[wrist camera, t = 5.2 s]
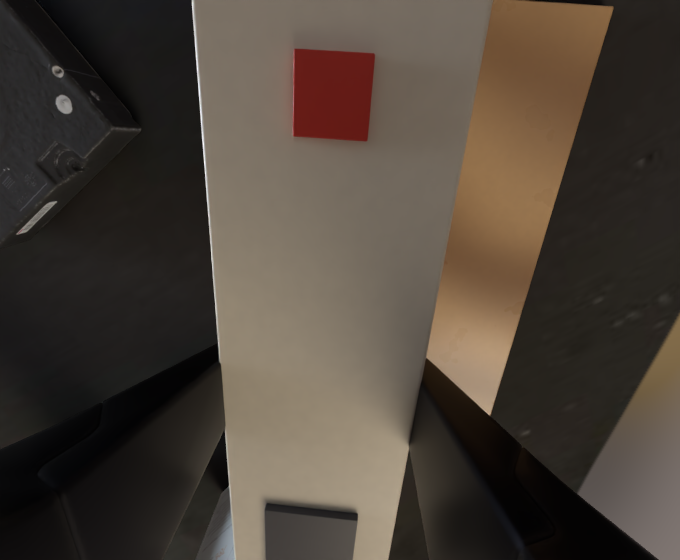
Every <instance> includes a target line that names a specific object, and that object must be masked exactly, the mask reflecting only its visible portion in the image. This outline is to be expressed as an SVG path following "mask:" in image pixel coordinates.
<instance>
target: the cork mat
mask: <svg viewBox="0 0 680 560" xmlns="http://www.w3.org/2000/svg"><path fill="white" fill-rule="evenodd" d="M612 11H613V6H601V5H586V4H572V3H557V2H543V1H529V0H493V3H492V9H491V14H490V19H489V25H488V30H487V35H486V40H485V46H484V51H483V56H482V62H481V67H480V72H479V78H478V83H477V88H476V94H475V99H474V104H473V110H472V115H471V120H470V126H469V131H468V136H467V142H466V147H465V152H464V158H463V163H462V168H461V174H460V179H459V184H458V190H457V195H456V200H455V206H454V211H453V216H452V222H451V227H450V232H449V238H448V243H447V248H446V254H445V259H444V264H443V270H442V275H441V280H440V286H439V291H438V296H437V302H436V307H435V312H434V318H433V323H432V328H431V334H430V339H429V344H428V350H427V355H426V358H427V359H429V360H430V361H431V362H432V363H433V364H434V365H435V366H436V367H437V368H439V369H440V370H441V371H442V372H443V373H444V374H445V375H446V376H447V377H448V378H449V379H450V380H452V381H453V382H454V383H455V384H456V385H457V386H458V387H459V388H460V389H461V390H462V391H463V392H465V393H466V394H467V395H468V396H469V397H470V398H471V399H472V400H473V401H474V402H475V403H476V404H478V405H479V406H480V407H481V408H482V409H483V410H484V411H485V412H486V413H487V414H488V415H489V416H490V415H491V412H492V408H493V405H494V402H495V399H496V395H497V392H498V389H499V385H500V382H501V379H502V375H503V372H504V369H505V365H506V362H507V359H508V356H509V352H510V349H511V346H512V342H513V339H514V336H515V332H516V329H517V326H518V322H519V319H520V316H521V312H522V309H523V306H524V303H525V299H526V296H527V293H528V289H529V286H530V283H531V279H532V276H533V273H534V269H535V266H536V263H537V260H538V256H539V253H540V250H541V246H542V243H543V240H544V236H545V233H546V230H547V226H548V223H549V220H550V216H551V213H552V210H553V207H554V203H555V200H556V197H557V193H558V190H559V187H560V183H561V180H562V177H563V173H564V170H565V167H566V164H567V160H568V157H569V154H570V150H571V147H572V144H573V140H574V137H575V134H576V130H577V127H578V124H579V121H580V117H581V114H582V111H583V107H584V104H585V101H586V97H587V94H588V91H589V87H590V84H591V81H592V77H593V74H594V71H595V68H596V64H597V61H598V58H599V54H600V51H601V48H602V44H603V41H604V38H605V34H606V31H607V28H608V25H609V21H610V18H611V15H612Z"/></svg>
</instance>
